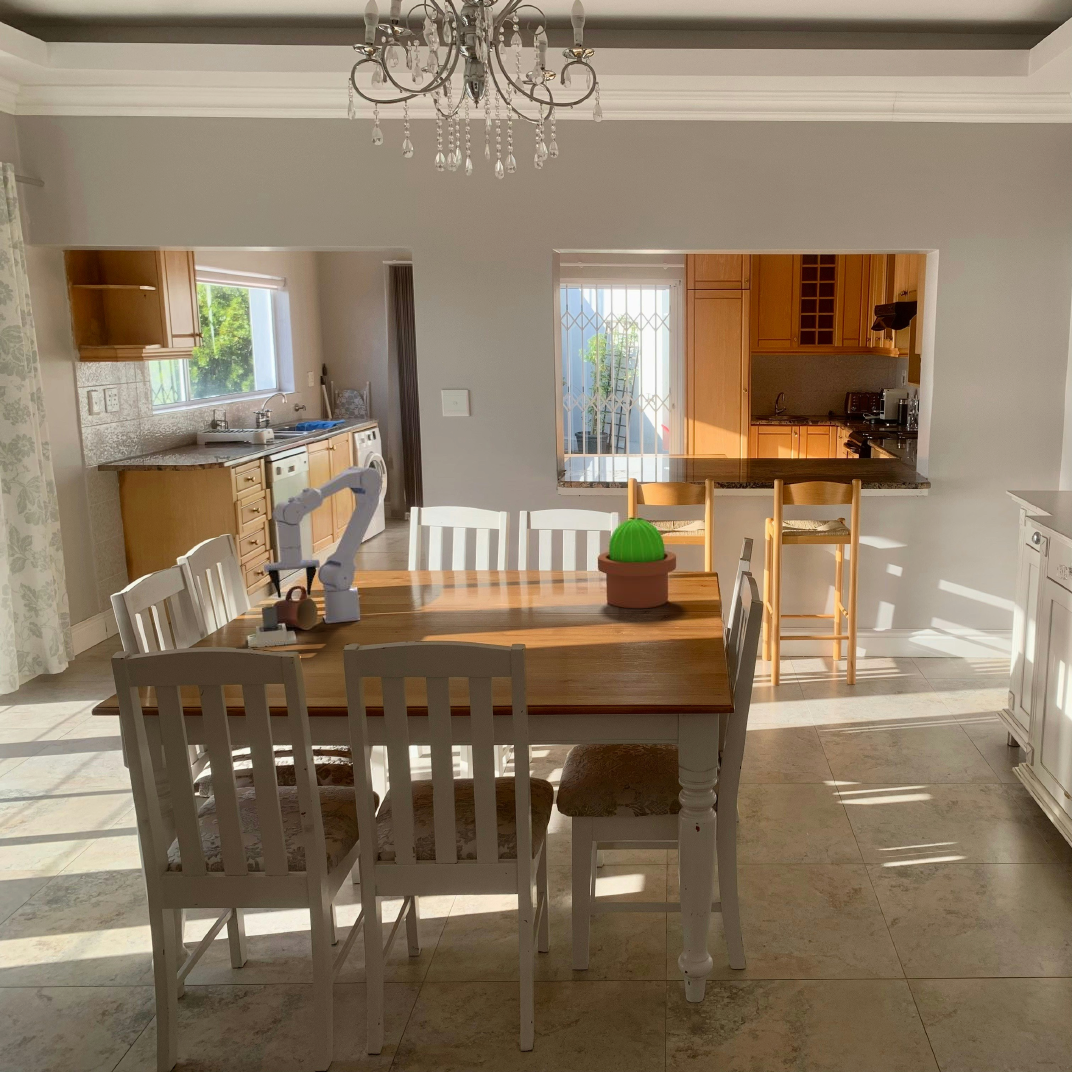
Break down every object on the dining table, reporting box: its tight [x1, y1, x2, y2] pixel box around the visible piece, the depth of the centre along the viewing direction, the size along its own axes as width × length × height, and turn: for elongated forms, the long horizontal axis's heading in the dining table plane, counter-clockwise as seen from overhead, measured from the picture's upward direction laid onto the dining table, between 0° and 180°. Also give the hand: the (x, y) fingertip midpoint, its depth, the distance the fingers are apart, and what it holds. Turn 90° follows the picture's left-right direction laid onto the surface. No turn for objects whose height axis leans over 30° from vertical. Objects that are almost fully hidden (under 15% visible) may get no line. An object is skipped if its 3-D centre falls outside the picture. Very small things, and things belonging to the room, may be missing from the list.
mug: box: [272, 585, 319, 631], centre depth 273 cm, size 12×9×10 cm
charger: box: [247, 623, 297, 649], centre depth 261 cm, size 12×9×4 cm
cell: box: [261, 603, 279, 632], centre depth 260 cm, size 4×4×9 cm
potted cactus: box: [597, 516, 677, 609], centre depth 288 cm, size 22×22×25 cm
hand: (294, 595), depth 271 cm, fingers open, 7 cm apart
